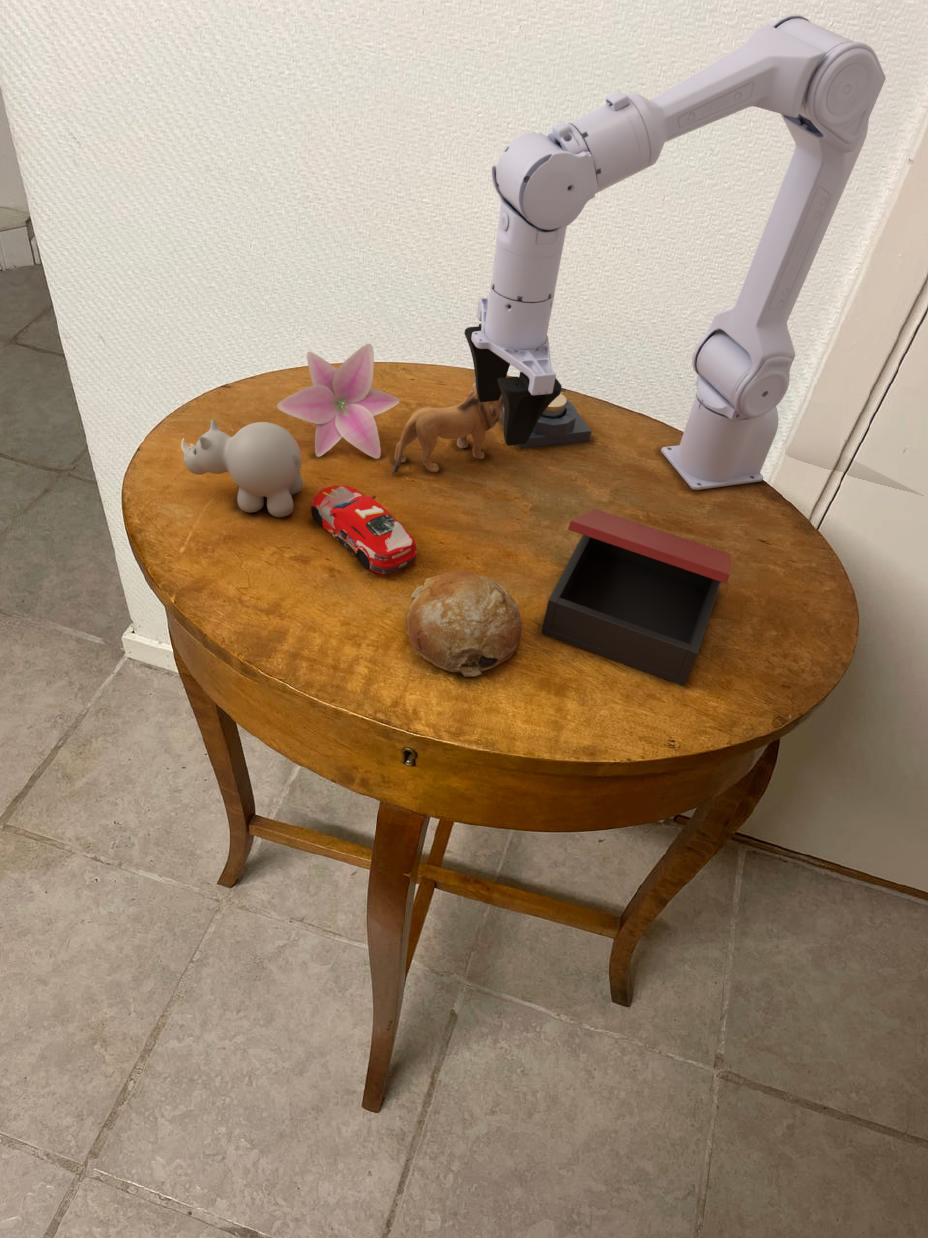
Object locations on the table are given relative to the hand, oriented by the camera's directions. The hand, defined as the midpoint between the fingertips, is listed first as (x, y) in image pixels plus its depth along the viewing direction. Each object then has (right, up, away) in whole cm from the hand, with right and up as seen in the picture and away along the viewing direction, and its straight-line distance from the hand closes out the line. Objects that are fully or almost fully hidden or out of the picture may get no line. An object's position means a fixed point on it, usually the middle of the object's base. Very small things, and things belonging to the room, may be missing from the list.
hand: (501, 420), depth 90 cm
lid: (+13, -13, -8) cm, 20 cm away
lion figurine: (-6, -1, +13) cm, 14 cm away
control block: (+6, +3, +18) cm, 19 cm away
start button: (+6, +5, +16) cm, 18 cm away
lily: (-18, 0, +12) cm, 21 cm away
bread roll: (-4, -21, -7) cm, 23 cm away
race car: (-14, -12, +1) cm, 18 cm away
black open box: (+12, -19, -3) cm, 23 cm away
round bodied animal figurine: (-26, -7, +4) cm, 27 cm away
